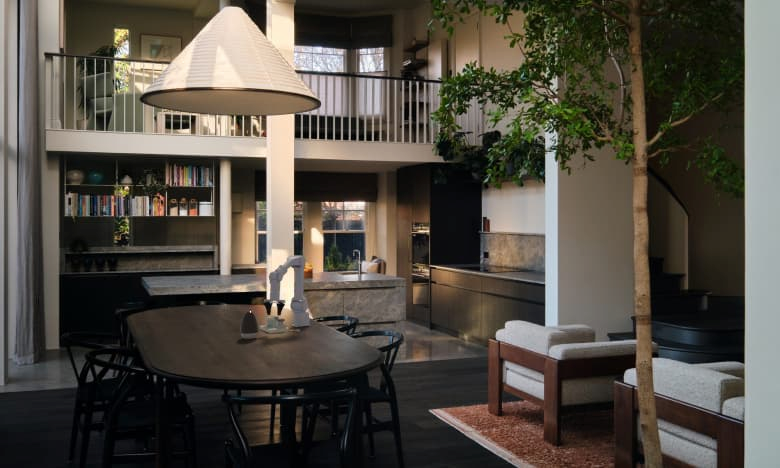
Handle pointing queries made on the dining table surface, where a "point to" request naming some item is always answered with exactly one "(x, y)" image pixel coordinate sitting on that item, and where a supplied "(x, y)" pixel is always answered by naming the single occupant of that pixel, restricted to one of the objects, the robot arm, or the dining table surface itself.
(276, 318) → the plunger
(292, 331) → the coaster
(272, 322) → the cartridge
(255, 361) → the dining table surface
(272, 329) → the housing
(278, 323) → the plunger
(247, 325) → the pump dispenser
